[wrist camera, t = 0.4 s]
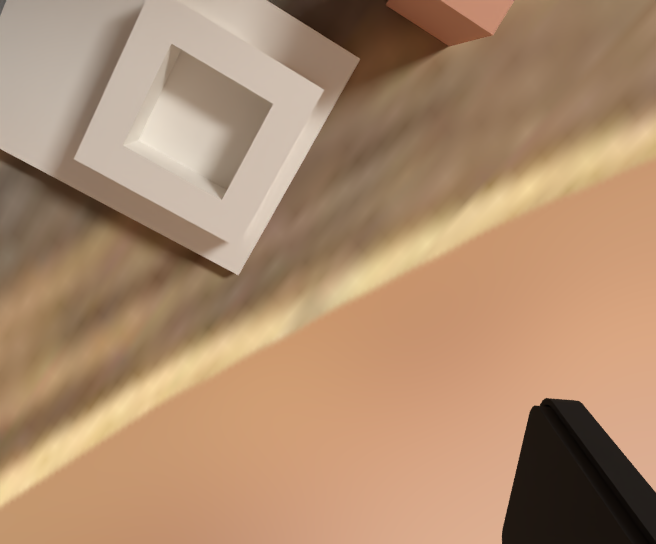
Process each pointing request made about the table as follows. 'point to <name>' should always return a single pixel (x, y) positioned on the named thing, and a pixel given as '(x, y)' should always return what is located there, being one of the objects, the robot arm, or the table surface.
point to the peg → (454, 17)
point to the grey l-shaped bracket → (2, 5)
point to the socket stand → (169, 108)
